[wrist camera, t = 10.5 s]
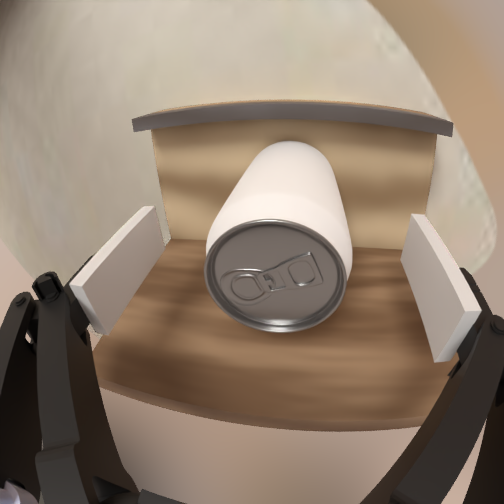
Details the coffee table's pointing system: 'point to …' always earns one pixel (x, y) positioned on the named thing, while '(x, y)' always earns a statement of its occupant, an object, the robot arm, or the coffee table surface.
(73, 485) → the robot arm
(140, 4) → the coffee table surface
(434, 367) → the brown piece
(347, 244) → the can
